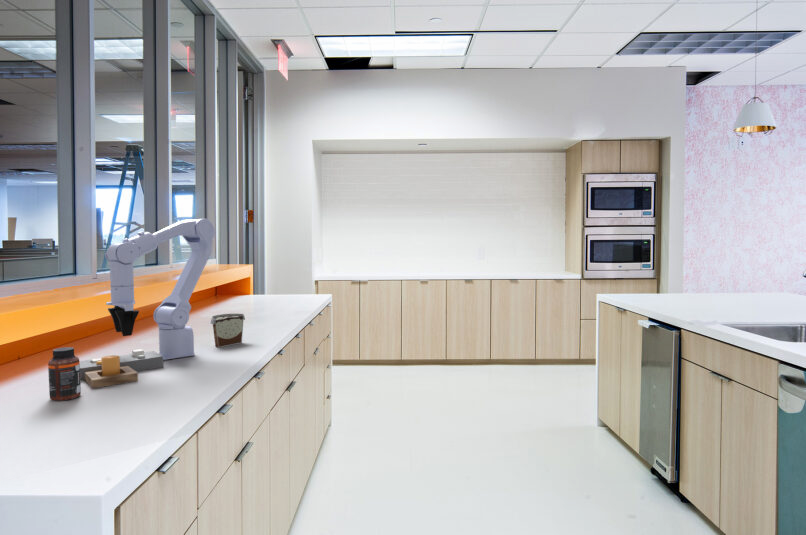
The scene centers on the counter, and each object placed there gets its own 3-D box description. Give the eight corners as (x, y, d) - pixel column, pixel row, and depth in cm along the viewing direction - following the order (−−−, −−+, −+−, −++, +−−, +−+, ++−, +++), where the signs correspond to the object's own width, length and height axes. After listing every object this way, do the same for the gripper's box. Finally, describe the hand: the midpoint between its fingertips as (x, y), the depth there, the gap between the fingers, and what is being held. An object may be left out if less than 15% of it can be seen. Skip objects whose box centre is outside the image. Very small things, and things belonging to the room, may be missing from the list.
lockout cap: (118, 377, 131) (117, 354, 131) (122, 380, 128) (121, 357, 128) (100, 380, 128) (99, 357, 128) (104, 383, 125) (103, 359, 125)
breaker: (141, 357, 144) (141, 349, 144) (144, 359, 142) (143, 350, 142) (132, 359, 142) (132, 350, 142) (134, 360, 140) (134, 351, 140)
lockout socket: (128, 372, 135) (127, 365, 135) (138, 380, 128) (137, 372, 128) (84, 379, 129) (84, 372, 128) (92, 388, 121) (92, 380, 121)
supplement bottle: (87, 395, 116) (85, 347, 115) (62, 403, 110) (60, 352, 110) (68, 392, 118) (66, 345, 117) (43, 400, 112) (41, 350, 112)
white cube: (102, 367, 137) (101, 358, 137) (103, 368, 136) (103, 359, 135) (91, 368, 136) (91, 359, 136) (93, 370, 134) (93, 361, 134)
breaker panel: (153, 360, 148) (153, 348, 148) (163, 366, 141) (162, 354, 141) (74, 373, 135) (73, 359, 135) (79, 380, 128) (79, 366, 128)
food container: (234, 340, 179) (234, 312, 178) (245, 342, 175) (244, 313, 175) (203, 346, 169) (202, 316, 168) (214, 348, 165) (213, 318, 165)
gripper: (100, 284, 143) (102, 331, 144) (112, 288, 132) (113, 339, 133) (127, 283, 148) (129, 328, 149) (141, 286, 137) (142, 336, 138)
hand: (123, 333), depth 141 cm, fingers open, 7 cm apart
